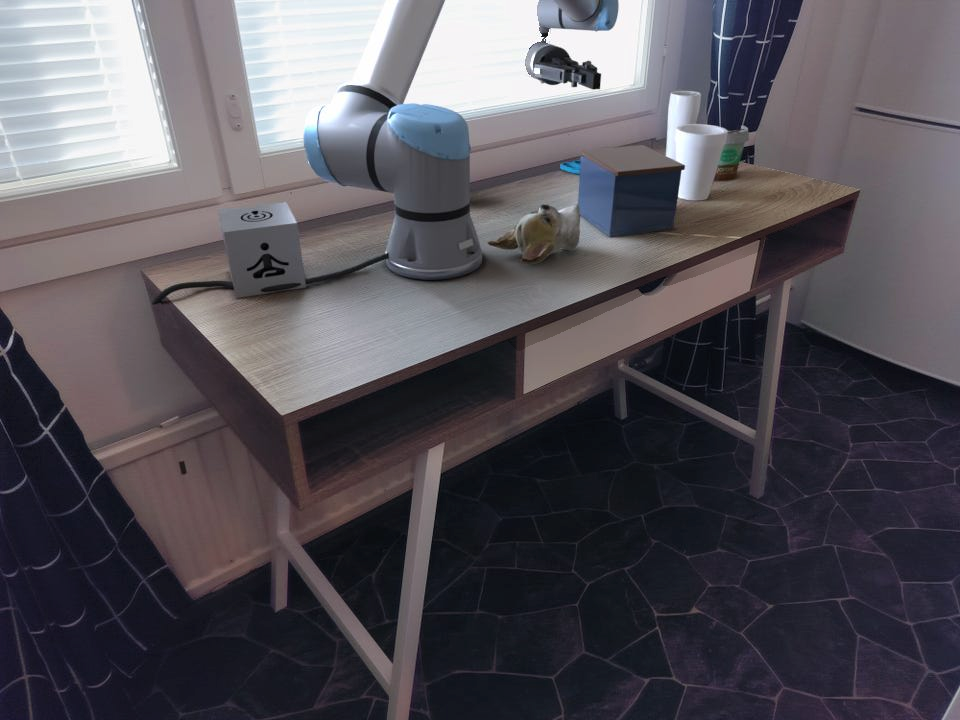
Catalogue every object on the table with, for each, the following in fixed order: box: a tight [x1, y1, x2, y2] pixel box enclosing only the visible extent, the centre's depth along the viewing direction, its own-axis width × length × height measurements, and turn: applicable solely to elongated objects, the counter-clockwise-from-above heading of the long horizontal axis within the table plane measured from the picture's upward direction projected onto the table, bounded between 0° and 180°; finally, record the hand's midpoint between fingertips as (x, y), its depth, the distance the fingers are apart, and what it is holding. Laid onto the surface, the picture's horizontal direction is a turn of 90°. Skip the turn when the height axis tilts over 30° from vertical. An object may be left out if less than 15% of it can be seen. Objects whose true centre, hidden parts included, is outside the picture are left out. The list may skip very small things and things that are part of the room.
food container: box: [713, 124, 750, 181], centre depth 152 cm, size 12×6×10 cm, turn 111°
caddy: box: [577, 154, 682, 238], centre depth 128 cm, size 14×13×11 cm
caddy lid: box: [580, 144, 685, 176], centre depth 125 cm, size 14×13×1 cm
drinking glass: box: [665, 90, 702, 161], centre depth 162 cm, size 7×7×15 cm
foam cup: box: [675, 123, 728, 202], centre depth 140 cm, size 10×9×13 cm
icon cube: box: [217, 201, 307, 299], centre depth 106 cm, size 10×10×10 cm
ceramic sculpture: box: [487, 203, 581, 265], centre depth 114 cm, size 11×9×15 cm
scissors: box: [559, 159, 581, 175], centre depth 155 cm, size 7×1×20 cm
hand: (596, 81), depth 132 cm, fingers closed
